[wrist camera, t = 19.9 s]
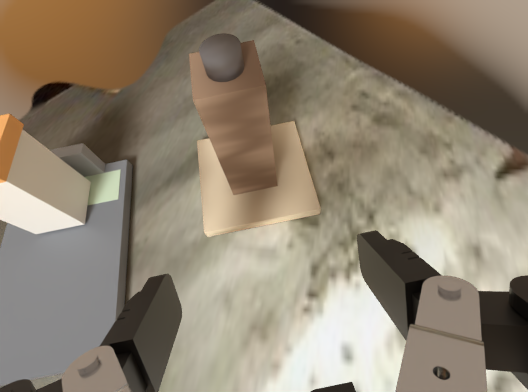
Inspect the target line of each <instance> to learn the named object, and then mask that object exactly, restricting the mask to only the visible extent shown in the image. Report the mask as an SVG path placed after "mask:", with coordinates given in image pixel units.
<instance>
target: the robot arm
mask: <svg viewBox="0 0 528 392" xmlns="http://www.w3.org/2000/svg"><path fill="white" fill-rule="evenodd" d="M357 243H358V252H359V261H360V268H361V272H362V276H363V278H364V280H365V282H366V283H367V285H368V286H369V288H370V289H371V291H372V292H373V294H374V295H375V296H376V298H377V299H378V301H379V302H380V304H381V305H382V307H383V308H384V309H385V311H386V312H387V314H388V315H389V317H390V318H391V320H392V321H393V322H394V324H395V325H396V327H397V328H398V330H399V331H400V332H401V334H402V335H403V337H404V338H405V340H406V345H405V350H404V354H403V359H402V364H401V368H400V373H399V378H398V382H397V387H396V392H487V381H486V369H488V370H498V371H509V372H512V373H513V374H514V375H515V376H516V378H517V379H518V380H519V381H520V382H521V383H522V384H523V385H524V386H525V387H526V388H527V389H528V276H520V277H516V278H514V279H513V280H512V281H511V282H510V289H509V292H492V291H478V290H477V289H476V288H475V287H474V286H473V285H472V284H471V283H469V282H467V281H465V280H463V279H460V278H457V277H452V276H442V275H441V274H439V273H438V272H437V271H436V270H435V269H433V268H432V267H431V266H430V265H429V264H428V263H426V262H425V261H424V260H423V259H422V258H419V256H418V255H417V254H416V253H414V252H412V250H411V249H410V248H408V247H407V246H406V245H405V244H403V243H401V242H398V241H396V240H393V239H391V240H386V239H385V238H384V237H383V236H382V235H381V234H380V233H379V232H378V231H376V230H375V231H370V232H366V233H361V234H358V235H357ZM181 319H182V308H181V304H180V301H179V298H178V295H177V292H176V289H175V286H174V284H173V281H172V278H171V276H170V275H169V274H164V275H159V276H154V277H150V278H149V279H148V280H147V282H146V284H145V285H144V287H143V289H142V290H141V292H138V293H137V294H135V295H134V296H133V297H132V298H131V299H130V300H129V301H128V302H127V304H126V305H125V307H124V308H123V310H122V313H120V315H119V316H118V318H117V321H115V322H114V324H113V326H112V327H111V329H110V330H109V332H108V333H107V335H106V337H105V338H104V340H103V341H102V343H101V344H100V346H99V347H96V348H93V349H91V350H89V351H87V352H85V353H84V354H82V355H81V356H79V357H78V358H77V359H76V360H74V361H73V362H72V363H71V364H70V365H69V367H68V368H67V369H66V371H65V372H64V374H63V376H62V379H60V380H58V381H56V382H53V383H51V384H49V385H47V386H44V387H42V388H40V389H38V390H36V389H35V387H34V386H33V384H32V382H31V381H30V380H28V379H22V380H17V381H14V382H12V383H10V384H8V385H6V386H4V387H2V388H0V392H158V391H159V388H160V384H161V381H162V378H163V375H164V372H165V369H166V366H167V363H168V360H169V356H170V353H171V350H172V347H173V344H174V341H175V338H176V335H177V332H178V329H179V325H180V322H181ZM311 392H356V391H355V388H354V386H353V383H352V382H349V383H344V384H339V385H334V386H330V387H325V388H320V389H315V390H313V391H311Z"/></svg>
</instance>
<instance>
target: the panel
mask: <svg viewBox="0 0 528 392" xmlns="http://www.w3.org/2000/svg"><path fill="white" fill-rule="evenodd" d="M50 151H51V152H52V153H54V154H55V155H56V156H58V157H59V158H60V159H61V160H63V161H64V162H65V163H67V164H68V165H69V166H70V167H72V168H73V169H74V170H76V171H77V172H78V173H80V174H81V175H82V176H83V177H85V178H86V179H87V180H89V181H90V182H91V184H90V191H89V198H88V205H87V212H86V219H85V224H84V225H79V226H74V227H69V228H64V229H59V230H55V231H50V232H45V233H40V234H34V233H32V232H29V231H27V230H24V229H22V228H19V227H17V226H15V225H12V224H10V223H7V226H6V230H5V233H4V237H3V240H2V244H1V247H0V386H3V385H8V384H10V383H12V382H14V381H17V380H22V379H28V380H33V379H38V378H43V377H48V376H53V375H58V374H63V373H64V372H65V371H66V369H67V368H68V367H69V365H70V364H71V363H72V362H73V361H74V360H76V359H77V358H78V357H79V356H81V355H82V354H84V353H85V352H87V351H89V350H91V349H93V348H96V347H99V346H100V344H101V343H102V341H103V340H104V338H105V337H106V335H107V333H108V332H109V330H110V329H111V327H112V326H113V324H114V322H115V321H117V318H118V316H119V315H120V313H122V310H123V308H124V305H125V288H126V271H127V254H128V237H129V220H130V203H131V186H132V169H133V165H132V164H131V163H130V162H129V161H128V160H122V161H117V162H112V163H108V164H105V163H104V162H103V161H102V160H101V159H99V158H98V157H97V156H96V155H95V154H94V153H93V152H92V151H91V150H90V149H89V148H88V147H87V146H85V145H84V144H83V143H81V144H76V145H72V146H67V147H62V148H57V149H52V150H50Z"/></svg>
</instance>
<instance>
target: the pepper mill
mask: <svg viewBox="0 0 528 392" xmlns="http://www.w3.org/2000/svg"><path fill="white" fill-rule="evenodd" d="M189 58H190V70H191V82H192V93H193V101H194V104H195V106H196V108H197V111H198V113H199V115H200V118H201V120H202V122H203V125H204V127H205V129H206V132H207V134H208V136H209V139H210V141H211V144H212V146H213V148H214V151H215V153H216V155H217V158H218V160H219V162H220V165H221V167H222V169H223V172H224V174H225V176H226V179H227V181H228V183H229V186H230V188H231V190H232V193H233V195H238V194H242V193H247V192H252V191H257V190H261V189H266V188H271V187H276V186H278V185H277V177H276V168H275V160H274V151H273V142H272V134H271V125H270V117H269V108H268V99H267V91H266V84H265V80H264V76H263V73H262V69H261V65H260V62H259V58H258V54H257V50H256V47H255V43H254V40H252V41H248V42H243V43H240V41H239V39H238V38H237V37H236V36H234V35H231V34H217V35H213V36H211V37H209V38H207V39H206V40H204V41H203V42H202V44H201V45H200V47H199V52H196V53H191V54H189Z"/></svg>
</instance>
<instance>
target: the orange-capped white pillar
mask: <svg viewBox="0 0 528 392" xmlns="http://www.w3.org/2000/svg"><path fill="white" fill-rule="evenodd" d="M23 126H24V124H22V123H21V122H20V121H19V120H17V119H16V118H15V117H13V116H12V115H11V114H5V115H0V220H2V221H5V222H7V223H10V224H12V225H15V226H17V227H19V228H22V229H24V230H27V231H29V232H32V233H34V234H40V233H45V232H50V231H55V230H59V229H64V228H69V227H74V226H79V225H84V224H85V219H86V212H87V205H88V198H89V191H90V184H91V182H90V181H89V180H87V179H86V178H85V177H83V176H82V175H81V174H80V173H78V172H77V171H76V170H74V169H73V168H72V167H70V166H69V165H68V164H67V163H65V162H64V161H63V160H61V159H60V158H59V157H58V156H56V155H55V154H54V153H52V152H51V151H50V150H48V149H47V148H46V147H45V146H43V145H42V144H41V143H39V142H38V141H37V140H36V139H34V138H33V137H32V136H30V135H29V134H28V133H26V132H25V131H24V130H23Z"/></svg>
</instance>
